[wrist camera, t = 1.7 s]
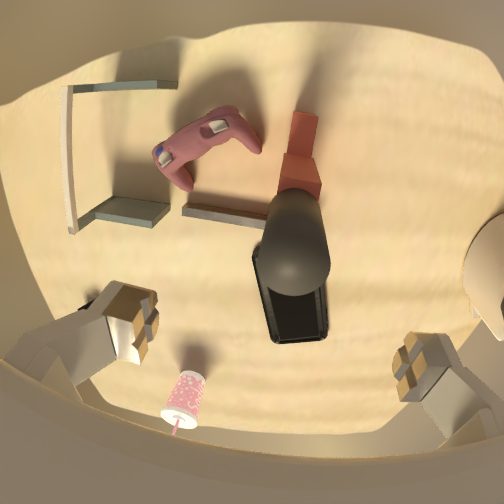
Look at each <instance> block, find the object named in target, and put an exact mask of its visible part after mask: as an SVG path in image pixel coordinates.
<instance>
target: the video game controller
mask: <svg viewBox="0 0 504 504" xmlns="http://www.w3.org/2000/svg"><path fill="white" fill-rule="evenodd" d="M230 138H236V139H237V140H239V141H240V142H241V143H243V144H244V145H245V146H246V147H247V148H248V149H249V150H250V151H251V152H253V153H255V154H260V153H261V152H262V145H261V141H260V139H259V137H258V135H257V134H256V132H255V131H254V130H253V128H252V127H251V126H250V125H249V123H248V122H247V121H246V120H245V119H244V118H243V117H242V116H241V115H240V114H239V112H238V110H237V109H236V108H235V107H234V106H223V107H218V108H216V109H214V110H212V111H210V112H209V113H208V114H207V115H206V116H205V117H203V118H200V119H198V120H196V121H194V122H192V123H190V124H189V125H187V126H185V127H184V128H182V129H180V130H179V131H177V132H176V133H175V134H173V135H172V136H171V137H169V138H168V139H167V140H166V141H163V142H161V143H159V144H158V145H157V146H155V148H154V149H153V151H152V155H153V158H154V161H155V164H156V165H157V167H158V169H159V170H160V171H161V173H162V174H163V175H165V176H166V177H167V178H168V179H169V180H170V181H172V182H173V183H174V184H175V185H176V186H178V187H179V188H180V189H182V190H184V191H187V192H189V191H192V190H193V186H194V185H193V181H192V178H191V176H190V174H189V172H188V171H187V169H186V168H185V167H184V165H183V164H185V163H186V162H188V161H191V160H195V159H197V158H199V157H201V156H202V155H204V154H205V153H206V152H207V151H209V150H210V149H211V148H212V147H213V146H216V145H220V144H223V143H225V142H227V141H228V140H229V139H230Z"/></svg>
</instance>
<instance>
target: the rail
mask: <svg viewBox="0 0 504 504" xmlns="http://www.w3.org/2000/svg"><path fill="white" fill-rule="evenodd" d="M182 216H187V217H193V218H199V219H205V220H212V221H218V222H223V223H229V224H235V225H241V226H247V227H253V228H258V229H264V228H265V224H266V220H267V215H261V214H255V213H249V212H244V211H238V210H231V209H225V208H219V207H213V206H206V205H200V204H193V203H186V204H185V205H184V206H183V207H182Z"/></svg>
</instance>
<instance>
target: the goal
mask: <svg viewBox="0 0 504 504" xmlns="http://www.w3.org/2000/svg"><path fill="white" fill-rule="evenodd" d="M177 87H178V82H171V81H161V80H144V81H124V82H110V83H99V84H84V85H68V86H62V90H61V116H60V137H61V164H62V179H63V190H64V200H65V208H66V216H67V223H68V230H69V233H70V234H74V235H75V234H76V233H77V232H79V231H80V230H81V229H83V228H84V227H85V226H87V225H88V224H89V223H91V222H92V221H93V220H95V219H100V220H106V221H111V222H117V223H123V224H129V225H135V226H140V227H146V228H153V227H154V226H155V225H156V224H157V223H158V222H159V221H160V220H161V219H162V218H163V217H164V216H165V215H166V214H167V213H168V212H169V211H170V204H166V203H159V202H152V201H145V200H137V199H130V198H122V197H115V196H112V197H110V198H109V199H107V200H106V201H104V202H102V203H101V204H99V205H98V206H96V207H95V208H93V209H92V210H91V211H89V212H88V213H86V214H85V215H83V216H82V217H80V218H79V219H77V211H76V202H75V191H74V179H73V161H72V101H73V94H74V93H85V92H99V91H117V90H141V89H177Z"/></svg>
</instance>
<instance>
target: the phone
mask: <svg viewBox="0 0 504 504" xmlns="http://www.w3.org/2000/svg"><path fill="white" fill-rule="evenodd" d="M259 249H260V247H257V248H255V250H254V251H253V254H252V262H253V266H254V270H255V274H256V279H257V283H258V287H259V291H260V295H261V300H262V304H263V308H264V312H265V317H266V321H267V325H268V329H269V333H270V338H271V340H272V341H273V342H274V343H276V344H288V343H301V342H312V341H321V340H324V339H325V338H326V337H327V327H328V325H327V315H326V314H327V308H326V305H325V293H324V283H323V284H322V285H321V286H320V287H319V288H317V289H316V290H314V291H312V292H310V293H308V294H305V295H299V296H289V295H283V294H280V293H277V292H275V291H273V290H272V289H270V288H269V287H268V286H267V285H266V284H265V283H264V282H263V281H262V279H261V278H260V276H259V273H258V270H257V257H258V253H259Z"/></svg>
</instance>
